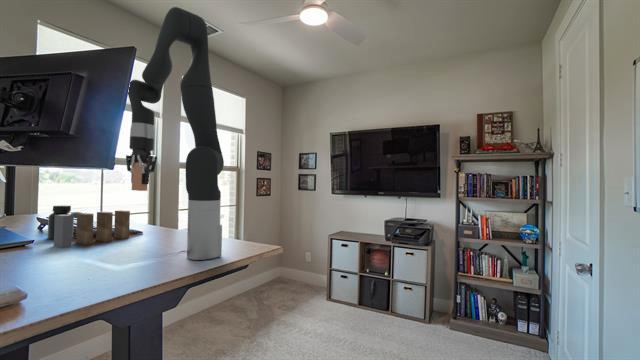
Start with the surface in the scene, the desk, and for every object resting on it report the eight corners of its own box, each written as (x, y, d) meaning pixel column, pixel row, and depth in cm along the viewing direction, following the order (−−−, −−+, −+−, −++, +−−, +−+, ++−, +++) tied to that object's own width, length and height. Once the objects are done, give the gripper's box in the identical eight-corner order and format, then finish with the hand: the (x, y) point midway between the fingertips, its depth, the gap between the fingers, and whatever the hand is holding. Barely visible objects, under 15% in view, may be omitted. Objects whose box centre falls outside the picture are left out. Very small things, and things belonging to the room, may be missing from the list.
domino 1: (84, 242, 100) (85, 212, 100) (92, 243, 98) (93, 213, 98) (76, 243, 98) (76, 213, 98) (84, 245, 96) (85, 214, 96)
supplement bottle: (62, 241, 101) (63, 206, 101) (41, 241, 100) (42, 206, 101) (78, 238, 107) (79, 205, 108) (59, 237, 107) (60, 204, 107)
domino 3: (120, 236, 111) (121, 210, 111) (129, 237, 109) (129, 211, 109) (114, 237, 109) (114, 210, 109) (122, 239, 107) (123, 211, 107)
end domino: (63, 245, 95) (63, 214, 95) (71, 247, 93) (72, 215, 93) (53, 246, 93) (54, 215, 93) (62, 248, 91) (63, 216, 91)
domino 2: (103, 239, 106) (104, 211, 106) (111, 240, 104) (112, 212, 104) (96, 240, 104) (96, 212, 104) (104, 241, 101) (105, 212, 102)
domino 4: (138, 190, 108) (139, 163, 108) (147, 190, 106) (148, 163, 106) (131, 190, 106) (133, 162, 106) (140, 190, 104) (142, 162, 104)
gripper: (119, 135, 106) (116, 182, 106) (145, 134, 100) (143, 184, 100) (139, 139, 113) (136, 183, 112) (165, 138, 107) (162, 184, 107)
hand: (139, 183), depth 106 cm, fingers closed on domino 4, 5 cm apart
